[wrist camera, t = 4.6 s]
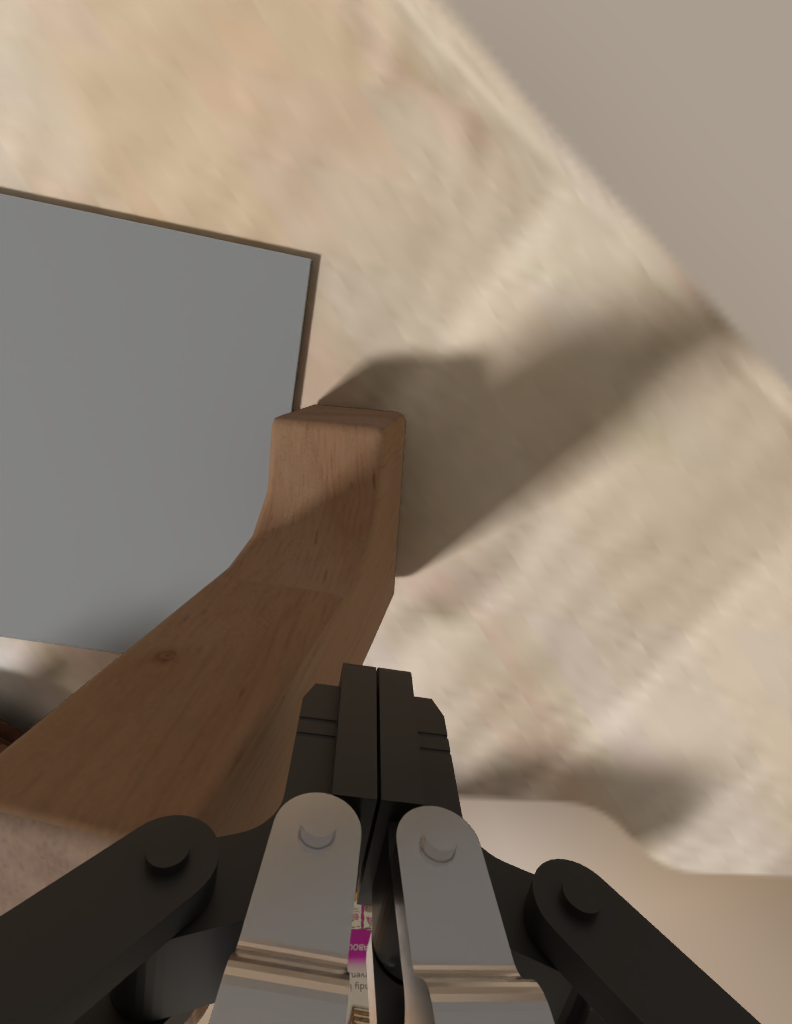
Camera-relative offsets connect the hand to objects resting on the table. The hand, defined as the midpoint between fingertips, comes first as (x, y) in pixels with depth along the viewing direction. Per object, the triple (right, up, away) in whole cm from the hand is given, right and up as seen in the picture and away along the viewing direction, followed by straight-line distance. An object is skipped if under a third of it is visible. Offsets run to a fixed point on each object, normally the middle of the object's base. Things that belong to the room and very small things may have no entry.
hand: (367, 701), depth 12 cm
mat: (-15, +7, +13) cm, 21 cm away
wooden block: (-1, +5, +14) cm, 14 cm away
